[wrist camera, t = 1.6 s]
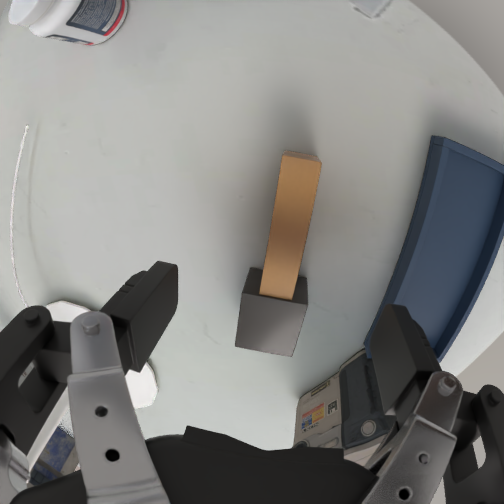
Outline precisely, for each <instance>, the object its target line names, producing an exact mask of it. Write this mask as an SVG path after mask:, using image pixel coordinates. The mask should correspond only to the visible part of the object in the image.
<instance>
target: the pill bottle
mask: <svg viewBox="0 0 504 504" xmlns="http://www.w3.org/2000/svg"><path fill="white" fill-rule="evenodd" d="M126 13H127V1H126V0H13V1H12V4H11V7H10V10H9V21H10V23H11V24H14V25H19V26H29V28H30V30H31V31H32V33H33V34H35V35H36V36H40V37H45V38H51V39H57V40H62V41H68V42H73V43H78V44H83V45H96V44H99V43H102V42H104V41H105V40H107V39H108V38H110V37H111V36H112V35H113V34H114V33H115V32H116V31H117V30H118V29H119V27H120V26H121V24H122V23H123V21H124V19H125V16H126Z"/></svg>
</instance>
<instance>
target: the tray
mask: <svg viewBox="0 0 504 504" xmlns="http://www.w3.org/2000/svg"><path fill="white" fill-rule="evenodd" d="M503 236H504V165H502V164H500V163H498V162H497V161H495V160H493V159H491V158H489V157H487V156H485V155H483V154H481V153H479V152H477V151H475V150H472V149H470V148H468V147H466V146H464V145H461V144H459V143H457V142H455V141H452V140H450V139H447V138H445V137H439V136H432V137H431V142H430V147H429V152H428V157H427V162H426V166H425V171H424V175H423V179H422V183H421V187H420V191H419V195H418V199H417V203H416V206H415V210H414V213H413V217H412V220H411V223H410V227H409V230H408V233H407V236H406V239H405V242H404V245H403V248H402V251H401V254H400V257H399V260H398V263H397V265H396V268H395V271H394V274H393V276H392V279H391V281H390V284H389V287H388V289H387V292H386V294H385V296H384V299H383V301H382V304H381V306H380V308H379V311H378V313H377V315H376V318H375V320H374V322H373V324H372V327H371V329H370V331H369V333H368V335H367V337H366V339H365V342H364V346H365V350H366V354H367V358H372V356H371V352H370V339H371V336H372V333H373V331H374V329H375V327H376V324H377V322H378V320H379V318H380V316H381V313H382V311H383V309H384V307H385V305H386V304H388V303H390V304H396V305H403V306H406V307H407V309H408V311H409V313H410V315H411V317H412V319H413V320H415V321H416V322H417V323H418V324H419V325H420V326H421V327H422V328H423V330H424V332H425V334H426V336H427V339H428V341H429V343H430V347H432V349H433V351H434V354H435V356H436V358H437V360H438V363H440V362H441V361H442V359H443V358H444V356H445V355H446V353H447V352H448V350H449V348H450V347H451V345H452V344H453V342H454V340H455V339H456V337H457V335H458V334H459V332H460V330H461V328H462V327H463V325H464V323H465V321H466V320H467V318H468V316H469V314H470V312H471V310H472V308H473V306H474V304H475V302H476V300H477V298H478V296H479V294H480V292H481V290H482V288H483V286H484V284H485V282H486V279H487V277H488V275H489V272H490V270H491V268H492V265H493V263H494V260H495V258H496V255H497V253H498V250H499V248H500V245H501V242H502V239H503Z"/></svg>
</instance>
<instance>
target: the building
mask: <svg viewBox="0 0 504 504" xmlns="http://www.w3.org/2000/svg"><path fill="white" fill-rule="evenodd" d="M78 463H79V459H78V455H77V450H76V445H75V439H74V438H72V437H71V436H69V435H68V434H67V433H65V432H64V431H62V430H61V429H60V428H58V427H57V428H56V429H55V431H54V433H53V434H52V436H51V437H50V439H49V441H48V442H47V444H46V445H45V447H44V449H43V450H42V452H41V454H40V455H39V457H38V459H37V460H36V462H35V464H34V466H33V467H32V469H31V471H30V476H31V478H30V481H29V482H27V488H30V487H33V486H36V485H39V484H42V483H45V482H48V481H51V480H54V479H56V478H59V477H62V476H65V475H67V474H70V473H72V472H74V470H75V468H76V467H77V465H78Z"/></svg>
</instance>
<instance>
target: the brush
mask: <svg viewBox="0 0 504 504" xmlns="http://www.w3.org/2000/svg"><path fill="white" fill-rule="evenodd" d="M321 165H322V162H321V161H320V160H319V158H318V157H317V156H313V155H308V154H303V153H297V152H292V151H286V150H285V151H284V153H283V155H282V160H281V167H280V173H279V179H278V185H277V191H276V198H275V204H274V210H273V216H272V222H271V228H270V234H269V240H268V245H267V251H266V257H265V263H264V269H263V270H260V269H255V268H250V270H249V273H248V276H247V279H246V282H245V285H244V289H243V292H242V297H241V304H240V312H239V319H238V326H237V333H236V341H235V347H240V348H245V349H250V350H255V351H261V352H266V353H272V354H278V355H284V356H290V357H292V355H293V352H294V349H295V346H296V343H297V340H298V336H299V333H300V330H301V327H302V323H303V320H304V317H305V313H306V310H307V307H308V292H307V278H304V277H298V273H299V269H300V265H301V260H302V256H303V252H304V247H305V243H306V238H307V234H308V229H309V225H310V220H311V215H312V211H313V206H314V201H315V196H316V191H317V186H318V181H319V176H320V170H321Z"/></svg>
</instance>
